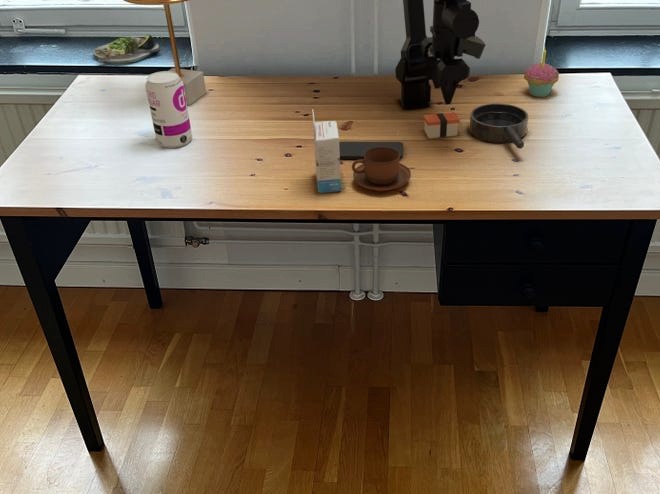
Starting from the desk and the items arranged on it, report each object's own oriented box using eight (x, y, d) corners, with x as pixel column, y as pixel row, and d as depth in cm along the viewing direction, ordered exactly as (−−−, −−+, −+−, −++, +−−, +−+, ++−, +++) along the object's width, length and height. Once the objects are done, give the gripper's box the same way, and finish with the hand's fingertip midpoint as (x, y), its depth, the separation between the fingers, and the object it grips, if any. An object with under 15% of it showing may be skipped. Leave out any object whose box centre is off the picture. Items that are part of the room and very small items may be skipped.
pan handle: (503, 132, 173) (504, 125, 172) (511, 132, 173) (512, 124, 172) (517, 150, 166) (517, 143, 165) (524, 149, 166) (525, 142, 165)
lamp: (125, 107, 196) (84, -73, 169) (170, 77, 210) (138, -93, 184) (197, 118, 189) (166, -67, 163) (237, 87, 204) (215, -88, 177)
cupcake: (556, 100, 192) (563, 51, 184) (521, 99, 193) (527, 49, 185) (556, 87, 198) (563, 39, 190) (522, 85, 199) (528, 37, 192)
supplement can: (198, 135, 182) (188, 72, 172) (181, 151, 176) (169, 85, 166) (168, 131, 184) (156, 68, 174) (150, 146, 178) (136, 82, 169)
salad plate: (117, 73, 214) (114, 56, 211) (78, 59, 223) (74, 43, 220) (171, 52, 225) (168, 36, 222) (131, 40, 234) (128, 24, 231)
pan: (478, 146, 174) (480, 129, 171) (462, 122, 184) (463, 106, 181) (534, 140, 175) (536, 123, 173) (515, 117, 185) (517, 101, 182)
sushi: (427, 138, 178) (428, 122, 175) (423, 131, 181) (423, 114, 178) (458, 135, 178) (459, 119, 176) (453, 128, 181) (454, 111, 179)
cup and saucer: (367, 201, 157) (367, 173, 153) (344, 175, 165) (343, 148, 161) (420, 188, 160) (421, 160, 156) (395, 164, 168) (395, 137, 164)
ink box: (341, 192, 160) (339, 123, 150) (317, 193, 159) (313, 125, 150) (338, 172, 166) (336, 106, 156) (315, 174, 166) (311, 107, 156)
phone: (337, 141, 176) (403, 141, 174) (337, 144, 176) (403, 144, 175) (334, 156, 170) (402, 156, 169) (334, 159, 171) (402, 160, 169)
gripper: (496, 35, 157) (489, 109, 168) (470, 7, 171) (465, 77, 182) (443, 39, 156) (439, 114, 167) (421, 11, 170) (419, 81, 180)
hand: (442, 96), depth 174 cm, fingers open, 9 cm apart
